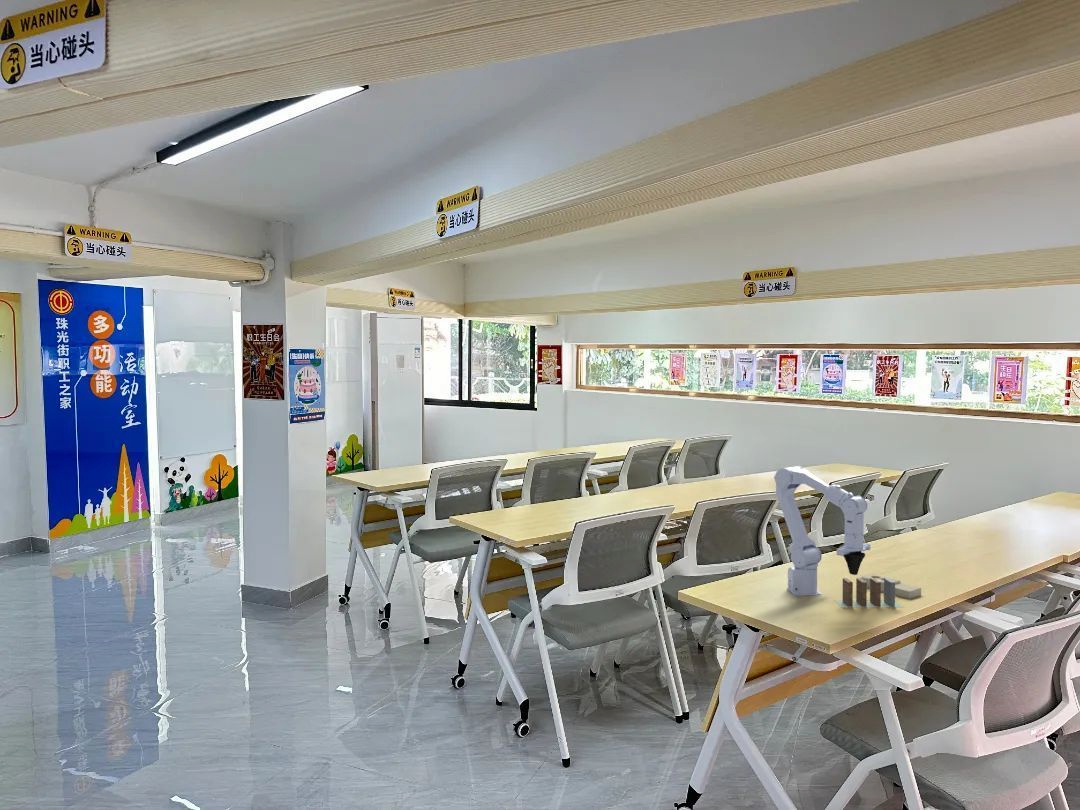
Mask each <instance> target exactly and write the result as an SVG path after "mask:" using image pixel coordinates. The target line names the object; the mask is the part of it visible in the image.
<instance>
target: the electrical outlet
mask: <svg viewBox="0 0 1080 810" xmlns="http://www.w3.org/2000/svg"><path fill="white" fill-rule="evenodd" d="M860 578H861V579H863V580H864V581H865V582H867V589H870V578H875V579H877V580H878V581H880V582H881V592H883V593H884V578H889V579H891V580H892V581H894V582H895V596H898V597H901V598H905V599H908V600H909V599H912V598H913V599H914V598H916V597H919V596H922V587H919V586H916V585H912V584H911V585H910V584H907V583H903V582H901V580H900V579H896V578H893V577H890V576H889V577H887V576H885V575H881V574H876V573H871V574H867V575H863V576H861V577H860Z"/></svg>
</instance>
